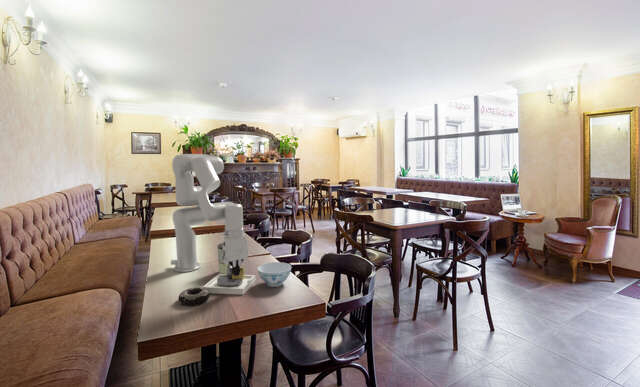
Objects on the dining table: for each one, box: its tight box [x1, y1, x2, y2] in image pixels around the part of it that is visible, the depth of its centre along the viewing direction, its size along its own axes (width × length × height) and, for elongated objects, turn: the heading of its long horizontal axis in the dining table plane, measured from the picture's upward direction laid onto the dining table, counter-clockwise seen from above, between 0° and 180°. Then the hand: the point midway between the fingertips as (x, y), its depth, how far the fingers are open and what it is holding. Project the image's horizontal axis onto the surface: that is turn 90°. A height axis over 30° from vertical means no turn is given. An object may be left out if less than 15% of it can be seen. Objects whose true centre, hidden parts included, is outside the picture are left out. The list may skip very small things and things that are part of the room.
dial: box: [217, 266, 246, 287], centre depth 144 cm, size 12×11×7 cm
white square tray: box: [202, 273, 257, 295], centre depth 145 cm, size 18×16×3 cm
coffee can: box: [217, 242, 236, 274], centre depth 163 cm, size 10×10×14 cm
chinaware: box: [257, 261, 292, 288], centre depth 147 cm, size 15×15×8 cm
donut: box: [177, 286, 211, 307], centre depth 131 cm, size 12×12×4 cm
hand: (236, 274), depth 140 cm, fingers closed
